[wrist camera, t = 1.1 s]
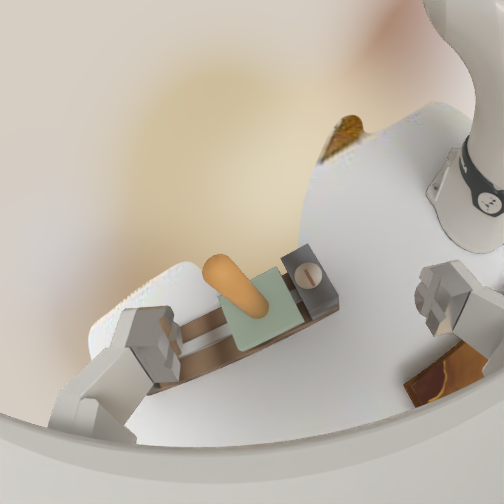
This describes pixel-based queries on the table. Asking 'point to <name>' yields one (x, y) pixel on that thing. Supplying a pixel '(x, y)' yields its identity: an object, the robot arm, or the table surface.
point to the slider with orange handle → (252, 302)
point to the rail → (226, 352)
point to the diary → (447, 375)
